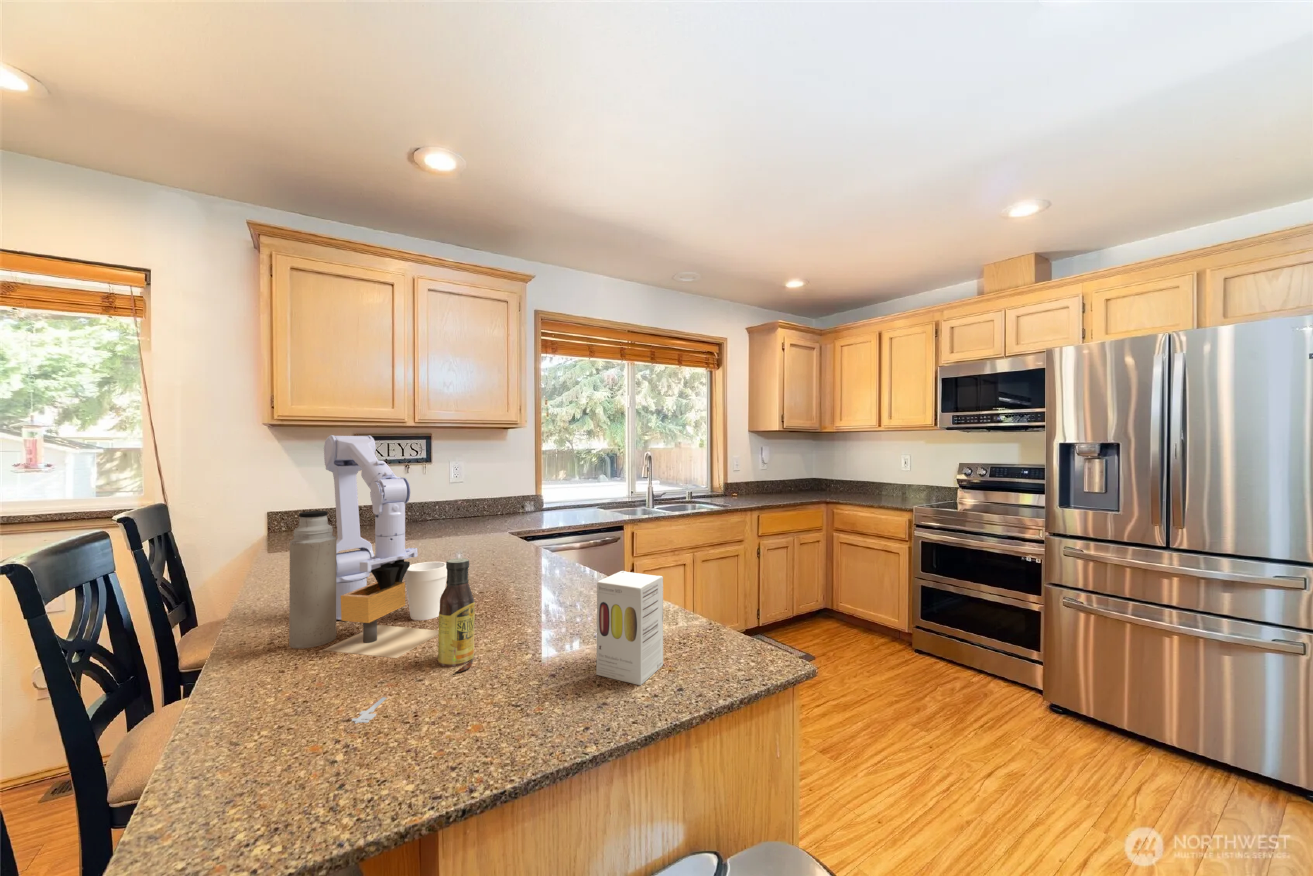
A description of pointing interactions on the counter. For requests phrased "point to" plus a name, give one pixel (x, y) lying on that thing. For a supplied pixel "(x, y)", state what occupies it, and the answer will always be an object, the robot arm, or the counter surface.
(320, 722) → the counter surface
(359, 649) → the board
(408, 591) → the foam cup
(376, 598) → the orange wooden hollow box
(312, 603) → the thermos bottle
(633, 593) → the supplement box
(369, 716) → the key
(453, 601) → the sauce bottle
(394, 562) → the robot arm
